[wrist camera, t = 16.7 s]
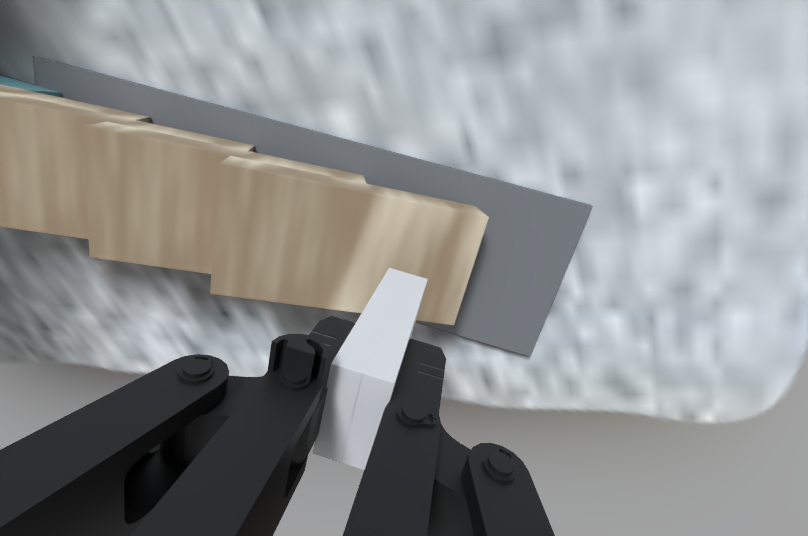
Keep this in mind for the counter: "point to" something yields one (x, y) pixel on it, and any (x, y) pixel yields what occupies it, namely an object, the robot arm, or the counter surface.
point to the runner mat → (502, 202)
